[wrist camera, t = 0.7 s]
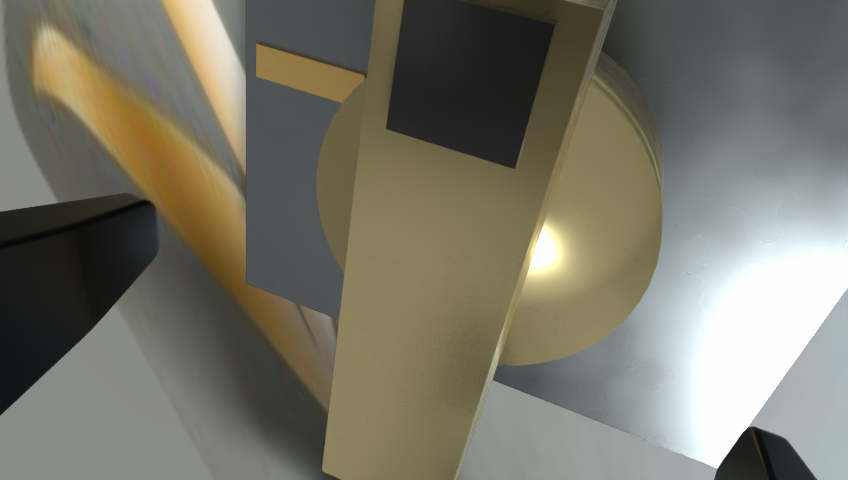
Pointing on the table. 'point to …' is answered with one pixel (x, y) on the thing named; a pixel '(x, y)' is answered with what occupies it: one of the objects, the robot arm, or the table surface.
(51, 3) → the table surface
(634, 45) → the lock base
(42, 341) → the robot arm
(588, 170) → the brass lock knob
